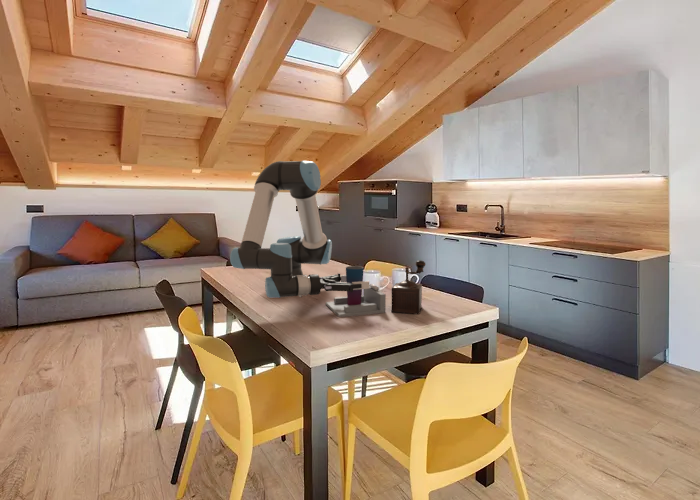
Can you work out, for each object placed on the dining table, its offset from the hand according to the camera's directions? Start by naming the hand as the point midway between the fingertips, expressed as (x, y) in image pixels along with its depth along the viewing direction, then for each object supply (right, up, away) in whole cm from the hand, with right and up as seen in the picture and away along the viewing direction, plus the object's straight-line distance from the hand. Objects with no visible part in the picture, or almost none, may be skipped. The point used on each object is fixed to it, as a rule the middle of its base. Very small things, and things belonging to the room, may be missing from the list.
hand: (362, 281), depth 160 cm
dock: (-3, -11, 0) cm, 11 cm away
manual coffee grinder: (+18, -11, +1) cm, 21 cm away
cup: (-3, -10, 0) cm, 10 cm away
